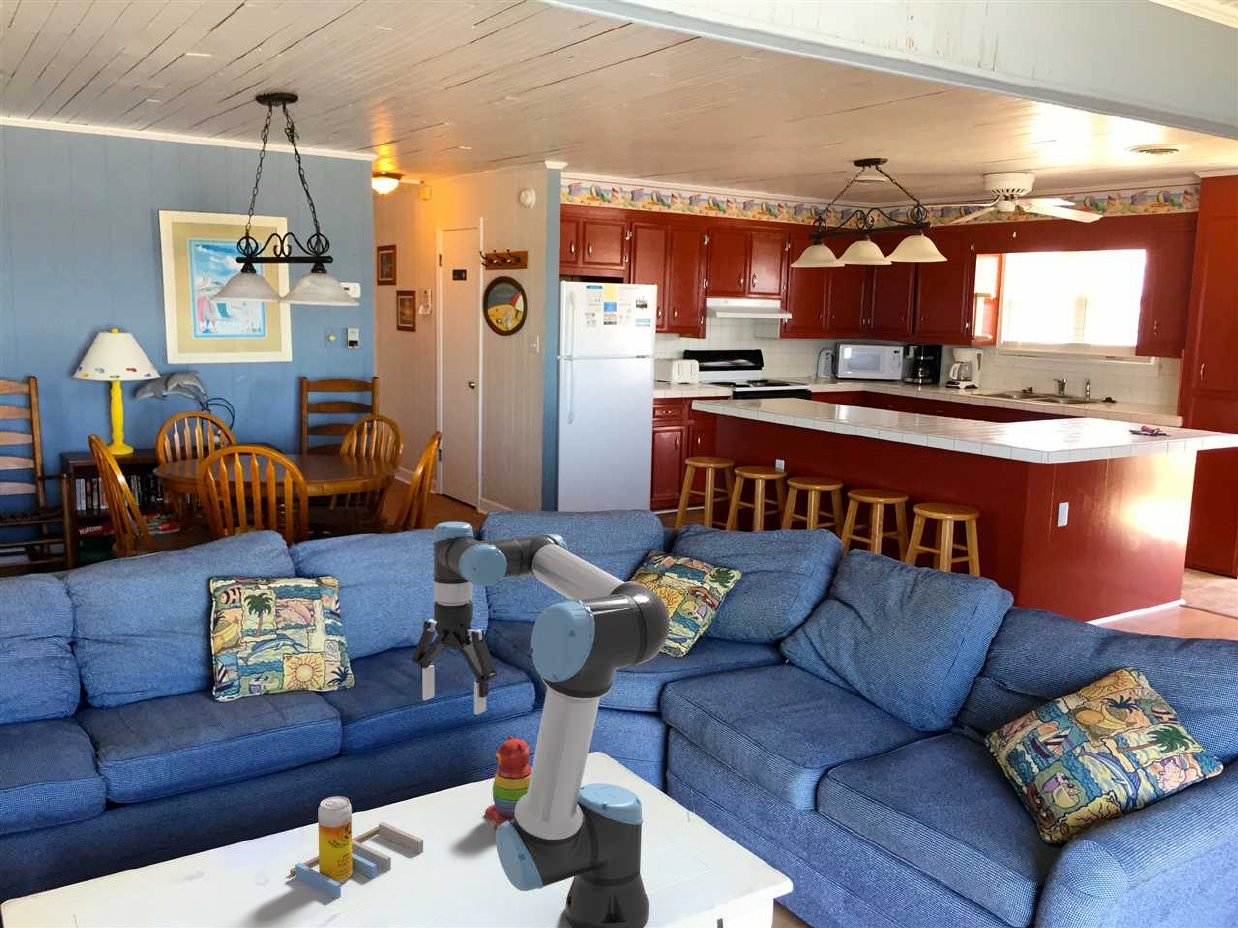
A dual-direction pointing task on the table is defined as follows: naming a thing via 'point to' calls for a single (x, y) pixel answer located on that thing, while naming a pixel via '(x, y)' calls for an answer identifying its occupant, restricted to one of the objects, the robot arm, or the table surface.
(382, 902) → the table surface
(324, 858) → the beer can
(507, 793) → the stacking bear
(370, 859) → the rack
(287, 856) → the table surface
